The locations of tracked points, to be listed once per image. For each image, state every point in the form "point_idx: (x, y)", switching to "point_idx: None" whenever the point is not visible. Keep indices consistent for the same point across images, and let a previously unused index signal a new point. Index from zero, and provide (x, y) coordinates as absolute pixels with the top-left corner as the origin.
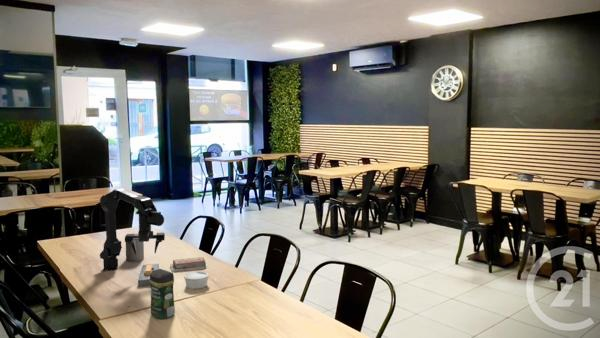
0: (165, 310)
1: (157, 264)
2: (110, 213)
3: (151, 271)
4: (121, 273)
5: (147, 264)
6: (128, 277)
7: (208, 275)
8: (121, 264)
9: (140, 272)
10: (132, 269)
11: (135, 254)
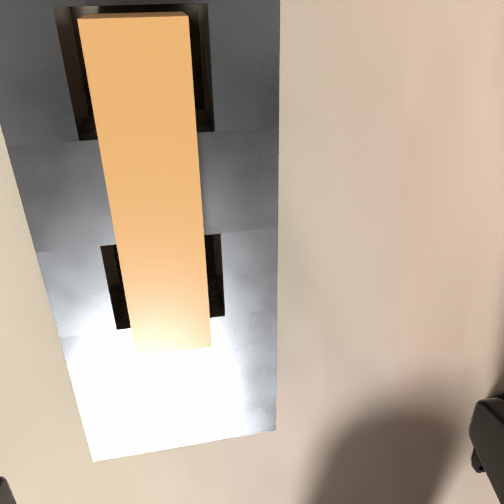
0: None
1: (102, 441)
2: None
3: None
4: (456, 313)
5: (224, 438)
6: (398, 191)
7: None
8: (440, 494)
9: (277, 163)
10: (359, 404)
11: (494, 398)
